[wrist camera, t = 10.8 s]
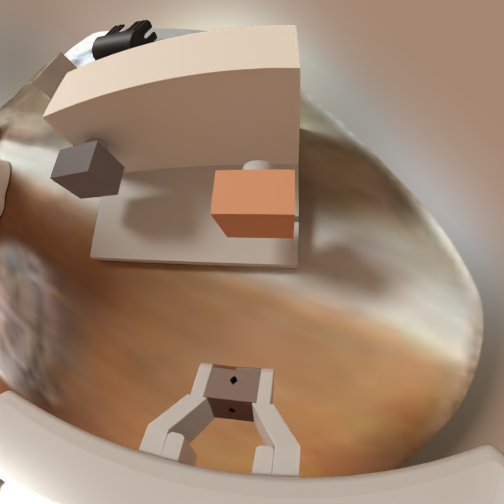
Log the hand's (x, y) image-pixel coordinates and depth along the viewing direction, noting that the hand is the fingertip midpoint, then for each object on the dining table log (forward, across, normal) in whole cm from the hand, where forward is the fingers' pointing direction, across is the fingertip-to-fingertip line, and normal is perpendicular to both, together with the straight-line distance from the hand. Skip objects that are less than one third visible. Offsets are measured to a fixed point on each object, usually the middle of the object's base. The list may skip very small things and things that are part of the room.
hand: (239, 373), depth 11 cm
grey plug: (+17, -16, +4) cm, 24 cm away
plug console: (+21, -8, +1) cm, 22 cm away
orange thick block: (+14, 0, +1) cm, 14 cm away
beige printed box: (+36, -35, +15) cm, 52 cm away
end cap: (+41, -26, +21) cm, 53 cm away
